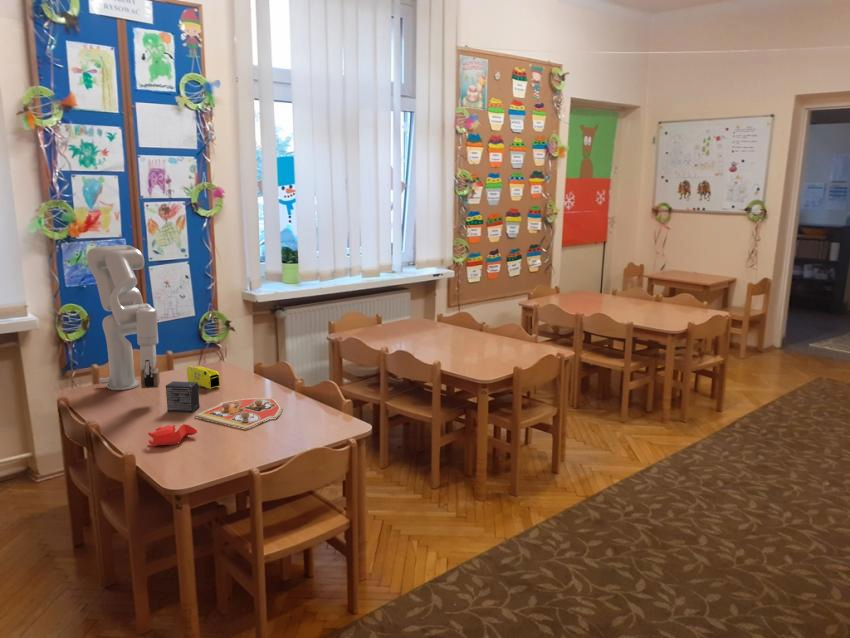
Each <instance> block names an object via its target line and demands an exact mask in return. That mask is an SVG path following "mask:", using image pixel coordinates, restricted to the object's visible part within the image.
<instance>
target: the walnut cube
mask: <svg viewBox="0 0 850 638" xmlns="http://www.w3.org/2000/svg"><path fill="white" fill-rule="evenodd" d="M149 369H151V368H149ZM159 369H160V368H159V367H155V368H154V369H153V378H154V386H153V387H145V379H144V377H145V368H144V370H141V372H140V386H141V387H140V388H141V389H152V388H153V389H155V388H159V385H160V370H159ZM149 372H150V373H151V371H149Z"/></svg>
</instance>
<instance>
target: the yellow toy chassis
mask: <svg viewBox="0 0 850 638" xmlns="http://www.w3.org/2000/svg"><path fill="white" fill-rule="evenodd" d="M186 373H187V374H186V375H187V382H198V388H200V387H203V388H206V389H207V390H212V389H215V388H218V387H220V386H221V380H220V378H221V377H220V375H221V374H219V372H218V371H217V370H213V369H211V368H208V367H203V366H200V365H199V366H197V367H196V366H192V365H189V366H188V367H187V368H186Z"/></svg>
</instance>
